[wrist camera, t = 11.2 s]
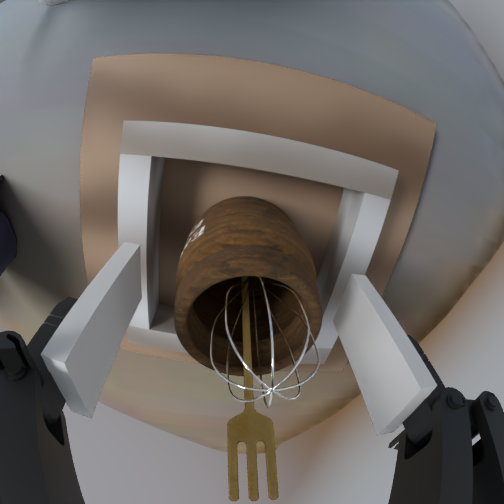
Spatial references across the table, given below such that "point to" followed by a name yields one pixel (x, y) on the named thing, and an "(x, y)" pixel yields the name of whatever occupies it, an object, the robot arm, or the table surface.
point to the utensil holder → (248, 313)
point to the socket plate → (243, 175)
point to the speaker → (6, 241)
